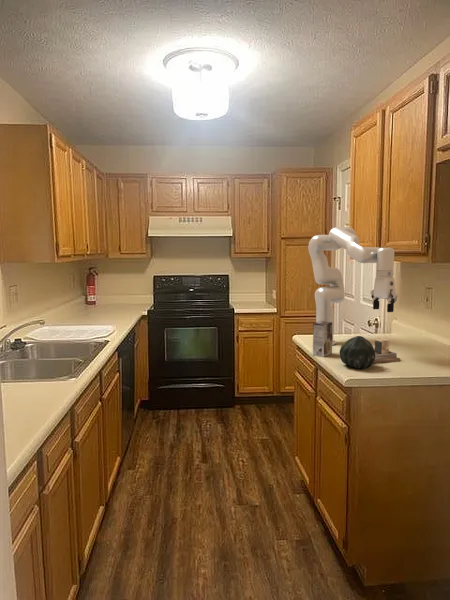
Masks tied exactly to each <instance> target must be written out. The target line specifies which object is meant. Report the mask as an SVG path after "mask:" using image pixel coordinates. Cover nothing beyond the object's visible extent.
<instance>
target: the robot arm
mask: <svg viewBox="0 0 450 600" xmlns="http://www.w3.org/2000/svg"><path fill="white" fill-rule="evenodd" d="M356 234H357V233H356V231H355V230H354V229H353V228H352V227H349V226H336V227H333V228H331V229H330V230H329V233H328V234H317V235H316V234H315V235H314V236H312V237H311V239H310V240H309V242H308V245H307V247H308V254H309V256H310V259H311V260H310V261H311V266H312V270H313V278H314V281H315V283H316V284H318V285H329V286H320V287H317V289H316V290H315V292H314V300H315V309H316V310H315V312H316V313H315V317H316V318H315V320H316V321H315V323H316V322H319V321H327V322H332V346H334V345H336V344H337V341H336V340H334V326H335V325H334V322H335V316H334V315H335V312H334V311H335V310H334V307H333V306H332V304H339V303H341V302H343V301H344V300H345V297H346V292H345V291H346V290H345V286H344V279H343V274H342V272H341V270H340V269H339V268H338V267H334V266H333V267H331V266H329V262H328V257H327V256H326V254H325V253H324V251H337V250H340V249H344V250H345V251H346V254H347V255H348V256H349V258H351V259H353V260H354V261H356V262H358V263H361V264H376V266H375V268H376V269H375V270H376V271H375V279H374V284H373V285H374V286H373V289H372V290H370V295H371V299H372V302H373V303H372V309H373V310H379V309H380V299H384V300H386V301H387V302H388V303H387V305H386V312H387V313H394V308H395V307H394V306H395V304H396V302H397V299H398V297H399V294H398V293H397V292H396V281H395V277H394V267H395V266H394V264H395V249H394V248H392V247H378V246H373V247H372V246H371V247H370V246H368V247H365V246H362V245H360V237H359V236H358V235H356Z"/></svg>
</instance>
